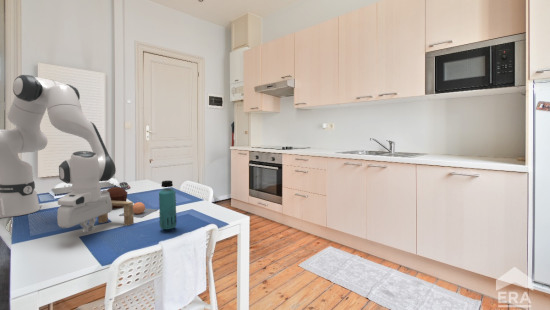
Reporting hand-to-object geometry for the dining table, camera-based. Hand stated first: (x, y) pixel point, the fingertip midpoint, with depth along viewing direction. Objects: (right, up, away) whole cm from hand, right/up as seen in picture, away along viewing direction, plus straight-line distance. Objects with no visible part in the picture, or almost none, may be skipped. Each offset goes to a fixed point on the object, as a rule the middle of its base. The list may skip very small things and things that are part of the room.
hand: (88, 230), depth 99 cm
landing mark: (+5, +1, +28) cm, 28 cm away
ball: (+6, +3, +26) cm, 26 cm away
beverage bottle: (+27, -2, +7) cm, 28 cm away
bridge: (+2, 0, +13) cm, 14 cm away
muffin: (-12, +2, +37) cm, 39 cm away
